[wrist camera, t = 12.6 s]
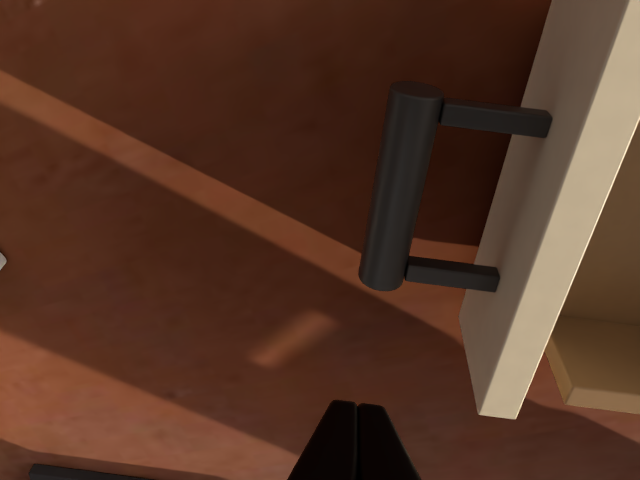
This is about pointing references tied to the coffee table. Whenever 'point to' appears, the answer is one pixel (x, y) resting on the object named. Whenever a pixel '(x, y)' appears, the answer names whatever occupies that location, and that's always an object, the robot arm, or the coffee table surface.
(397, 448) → the robot arm
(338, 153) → the coffee table surface
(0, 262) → the cosmetic box
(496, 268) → the drawer
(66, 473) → the mat
